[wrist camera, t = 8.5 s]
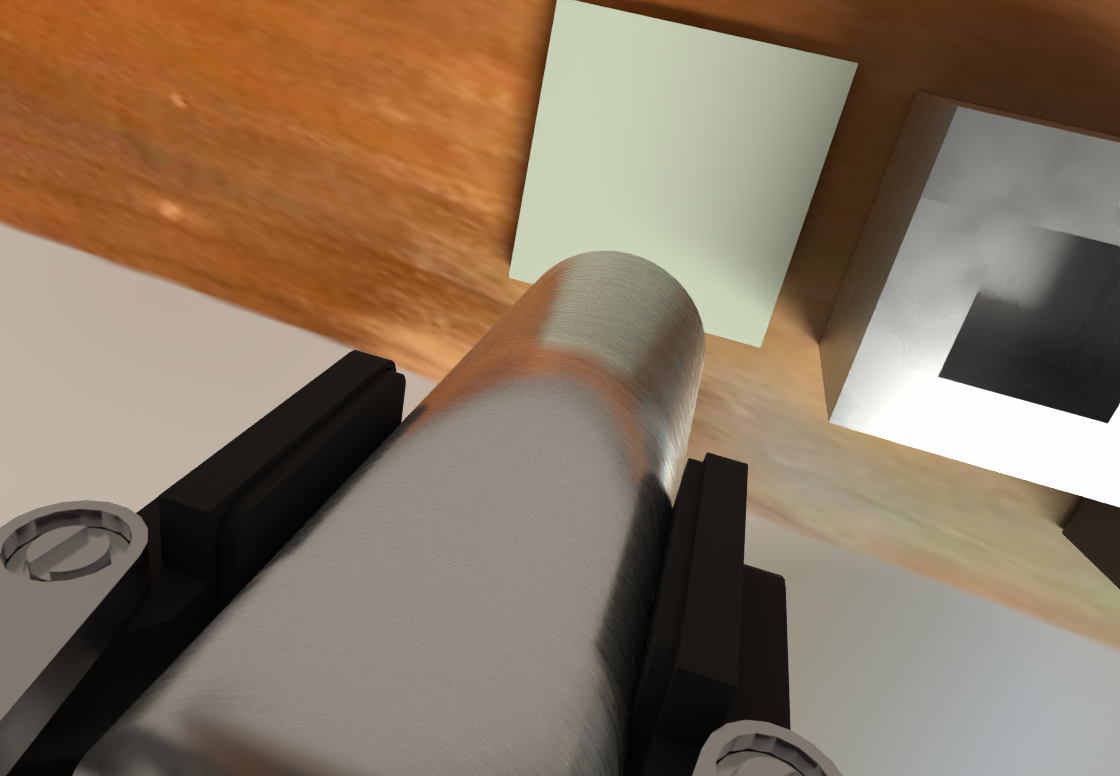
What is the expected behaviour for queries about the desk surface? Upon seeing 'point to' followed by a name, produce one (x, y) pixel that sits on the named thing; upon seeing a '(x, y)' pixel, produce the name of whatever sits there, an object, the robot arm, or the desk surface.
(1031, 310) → the chuck block
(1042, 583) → the desk surface
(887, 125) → the desk surface
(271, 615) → the grey metal cylinder
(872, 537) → the desk surface
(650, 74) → the mat
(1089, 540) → the phone stand
